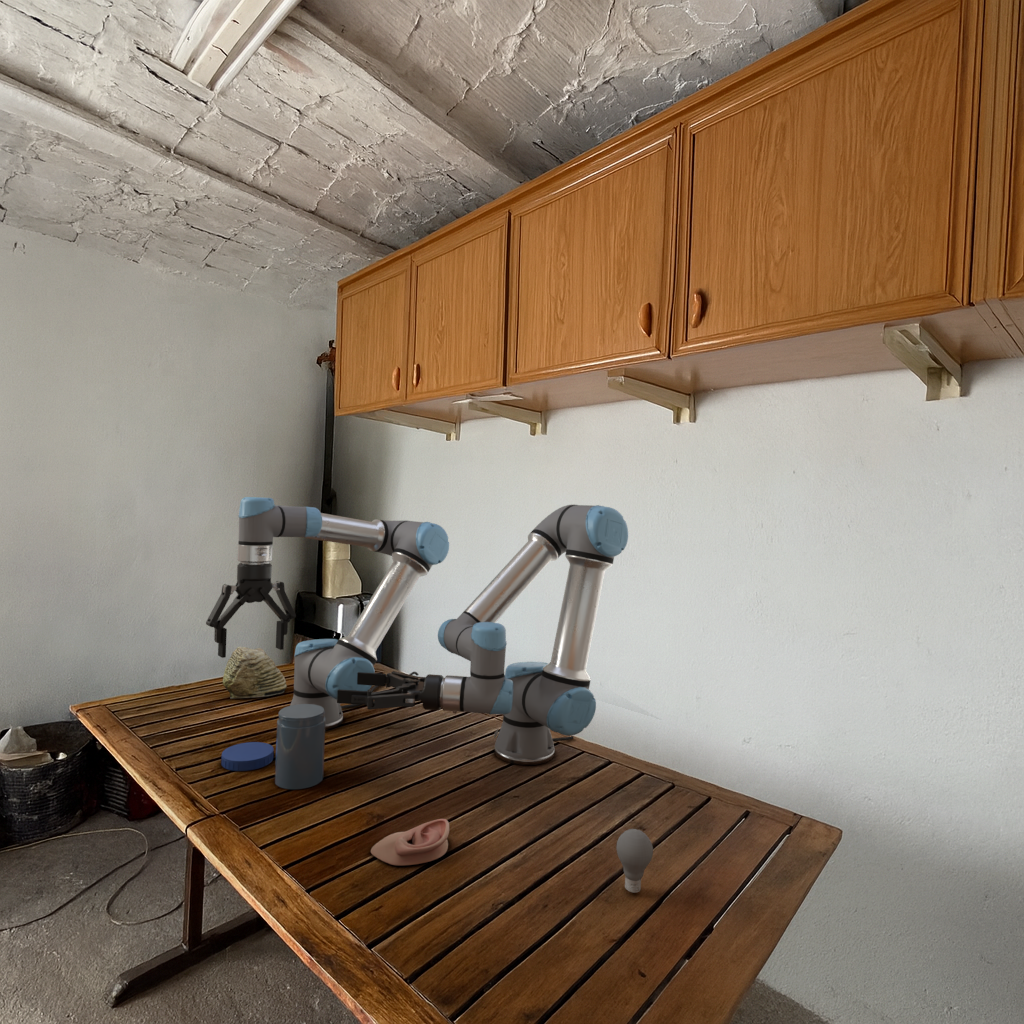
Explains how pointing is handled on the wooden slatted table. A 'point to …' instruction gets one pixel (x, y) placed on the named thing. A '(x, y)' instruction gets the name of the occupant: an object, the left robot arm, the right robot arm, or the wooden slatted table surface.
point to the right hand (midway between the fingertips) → (348, 686)
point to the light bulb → (634, 857)
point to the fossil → (252, 674)
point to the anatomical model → (414, 844)
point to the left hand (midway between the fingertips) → (251, 652)
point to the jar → (300, 746)
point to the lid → (247, 756)
